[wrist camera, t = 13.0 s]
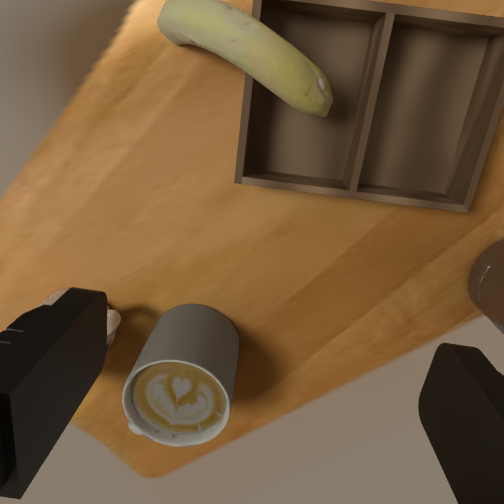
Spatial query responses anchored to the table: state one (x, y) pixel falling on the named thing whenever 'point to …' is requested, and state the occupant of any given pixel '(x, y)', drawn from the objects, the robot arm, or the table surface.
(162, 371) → the coffee mug
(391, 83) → the walnut crate
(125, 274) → the table surface
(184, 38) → the fruit
